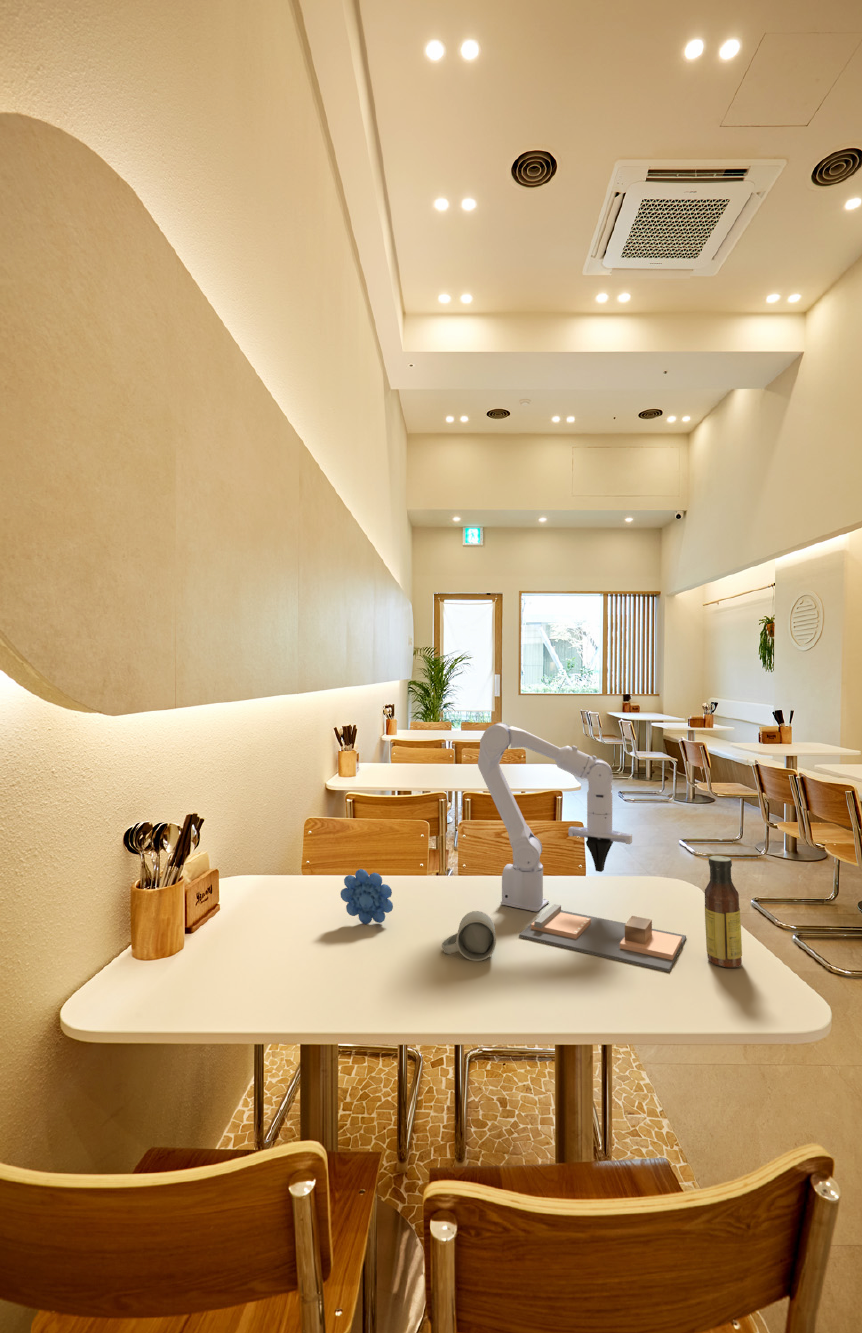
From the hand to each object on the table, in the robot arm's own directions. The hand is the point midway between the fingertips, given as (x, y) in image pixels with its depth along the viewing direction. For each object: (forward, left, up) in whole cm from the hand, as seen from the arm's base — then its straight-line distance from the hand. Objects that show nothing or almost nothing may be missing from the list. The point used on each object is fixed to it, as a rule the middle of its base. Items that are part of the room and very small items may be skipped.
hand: (599, 870), depth 147 cm
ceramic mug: (-15, -36, -10) cm, 40 cm away
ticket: (-4, -15, -9) cm, 18 cm away
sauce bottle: (+28, -14, -10) cm, 33 cm away
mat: (+5, -15, -9) cm, 18 cm away
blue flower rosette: (-41, -36, -10) cm, 55 cm away
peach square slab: (+15, -15, -9) cm, 23 cm away
